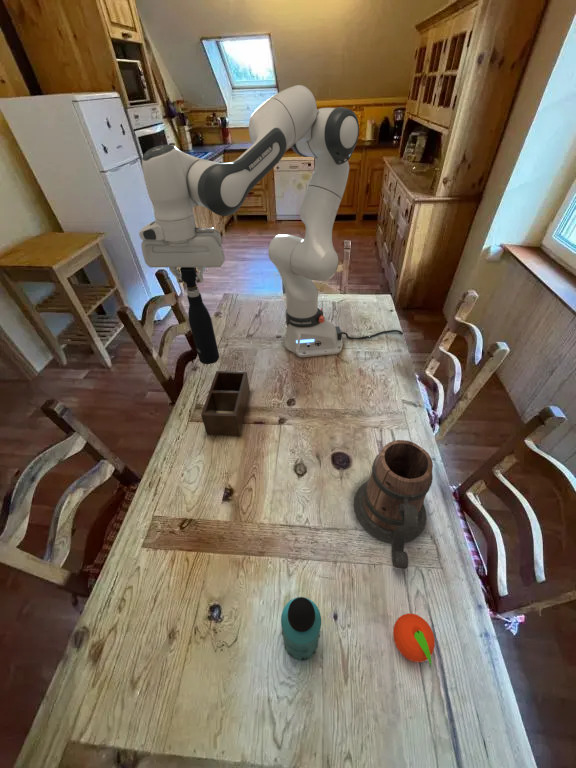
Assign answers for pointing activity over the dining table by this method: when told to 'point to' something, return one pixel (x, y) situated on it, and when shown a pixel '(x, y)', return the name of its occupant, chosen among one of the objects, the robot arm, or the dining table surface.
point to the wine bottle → (199, 320)
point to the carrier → (226, 403)
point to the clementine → (414, 638)
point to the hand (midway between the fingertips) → (190, 281)
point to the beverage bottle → (301, 628)
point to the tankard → (396, 497)
